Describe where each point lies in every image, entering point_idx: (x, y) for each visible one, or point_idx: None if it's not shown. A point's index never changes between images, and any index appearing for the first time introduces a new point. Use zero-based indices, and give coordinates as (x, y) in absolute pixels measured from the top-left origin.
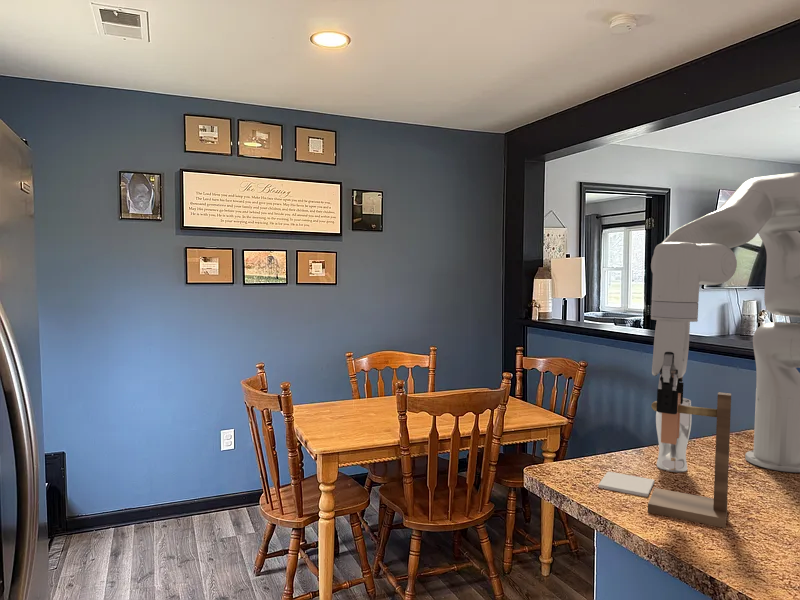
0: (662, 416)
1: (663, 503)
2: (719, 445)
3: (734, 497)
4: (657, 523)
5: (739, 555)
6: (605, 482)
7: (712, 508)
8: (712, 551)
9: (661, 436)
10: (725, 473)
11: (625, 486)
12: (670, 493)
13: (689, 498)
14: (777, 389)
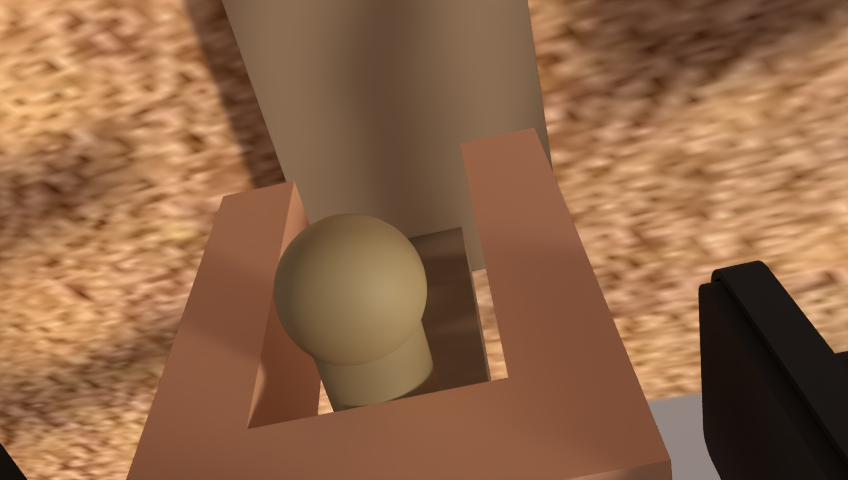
0: (174, 361)
1: (290, 48)
2: None
3: (748, 211)
4: (129, 64)
5: (120, 364)
6: None
7: (414, 233)
8: (65, 302)
9: (217, 227)
10: None
11: None
12: (479, 21)
13: (474, 120)
14: None
